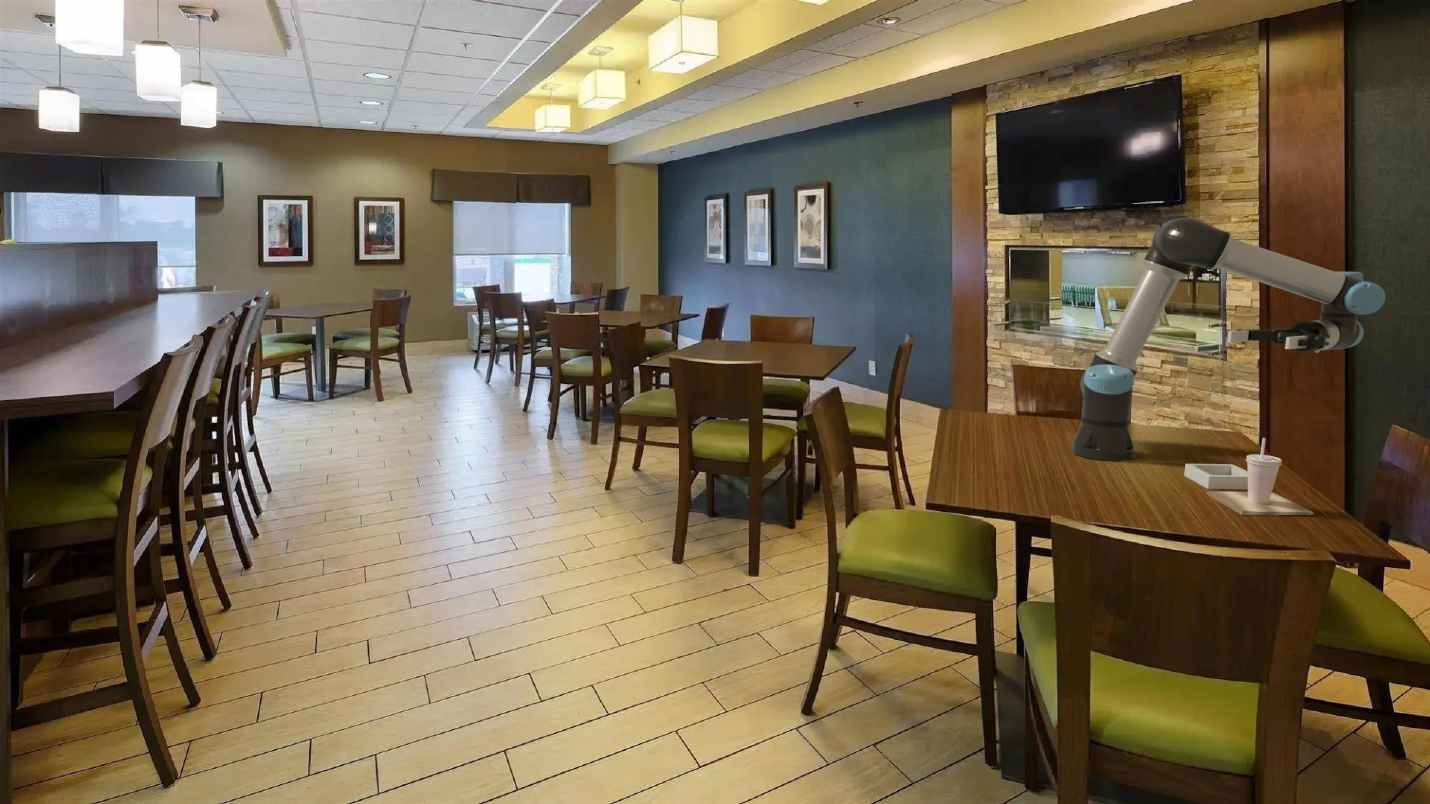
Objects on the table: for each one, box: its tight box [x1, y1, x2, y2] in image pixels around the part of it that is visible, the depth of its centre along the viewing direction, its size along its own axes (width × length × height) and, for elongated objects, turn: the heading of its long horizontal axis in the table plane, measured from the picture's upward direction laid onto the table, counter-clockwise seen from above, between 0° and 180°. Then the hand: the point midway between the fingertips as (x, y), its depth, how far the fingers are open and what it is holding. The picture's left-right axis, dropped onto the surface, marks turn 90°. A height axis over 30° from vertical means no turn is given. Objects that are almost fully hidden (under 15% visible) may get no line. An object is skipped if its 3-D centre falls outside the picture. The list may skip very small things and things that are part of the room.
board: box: [1206, 490, 1314, 516], centre depth 175 cm, size 14×14×1 cm
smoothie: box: [1245, 437, 1283, 504], centre depth 173 cm, size 6×6×14 cm
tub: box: [1183, 463, 1248, 491], centre depth 191 cm, size 11×11×3 cm
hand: (1257, 340), depth 193 cm, fingers open, 13 cm apart
